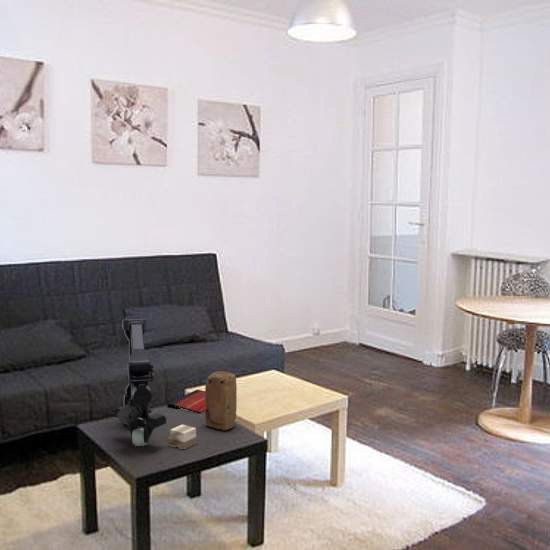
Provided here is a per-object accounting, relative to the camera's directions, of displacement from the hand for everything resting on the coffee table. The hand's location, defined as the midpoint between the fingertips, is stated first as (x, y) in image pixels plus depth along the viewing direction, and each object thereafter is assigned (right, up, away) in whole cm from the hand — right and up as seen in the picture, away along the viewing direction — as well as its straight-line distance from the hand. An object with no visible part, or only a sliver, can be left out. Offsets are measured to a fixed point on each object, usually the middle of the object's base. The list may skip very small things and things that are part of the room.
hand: (140, 440), depth 214 cm
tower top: (+14, +1, 0) cm, 15 cm away
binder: (+15, +3, +43) cm, 45 cm away
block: (+25, 0, +17) cm, 30 cm away
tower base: (+14, -2, +1) cm, 14 cm away
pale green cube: (0, -1, 0) cm, 1 cm away
